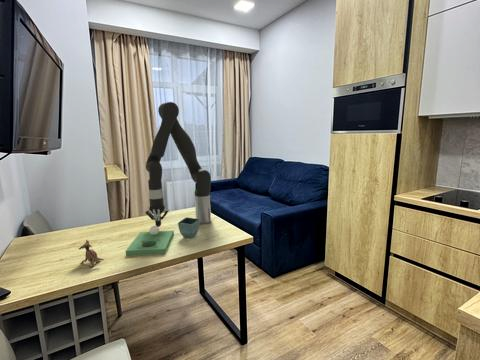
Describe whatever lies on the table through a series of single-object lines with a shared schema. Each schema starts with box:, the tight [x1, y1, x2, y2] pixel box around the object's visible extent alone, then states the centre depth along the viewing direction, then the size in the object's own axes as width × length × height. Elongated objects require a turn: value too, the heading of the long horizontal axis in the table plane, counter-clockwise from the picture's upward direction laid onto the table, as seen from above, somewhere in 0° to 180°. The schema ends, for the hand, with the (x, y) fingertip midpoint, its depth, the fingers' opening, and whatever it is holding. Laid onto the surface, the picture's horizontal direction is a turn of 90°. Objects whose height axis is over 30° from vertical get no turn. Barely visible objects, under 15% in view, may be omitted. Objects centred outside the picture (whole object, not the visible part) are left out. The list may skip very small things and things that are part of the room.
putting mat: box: [125, 230, 175, 257], centre depth 128 cm, size 18×22×2 cm
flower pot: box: [177, 216, 200, 239], centre depth 136 cm, size 9×9×9 cm
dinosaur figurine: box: [78, 239, 105, 268], centre depth 110 cm, size 14×6×9 cm, turn 57°
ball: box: [148, 225, 160, 235], centre depth 133 cm, size 5×5×5 cm
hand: (158, 226), depth 143 cm, fingers closed
